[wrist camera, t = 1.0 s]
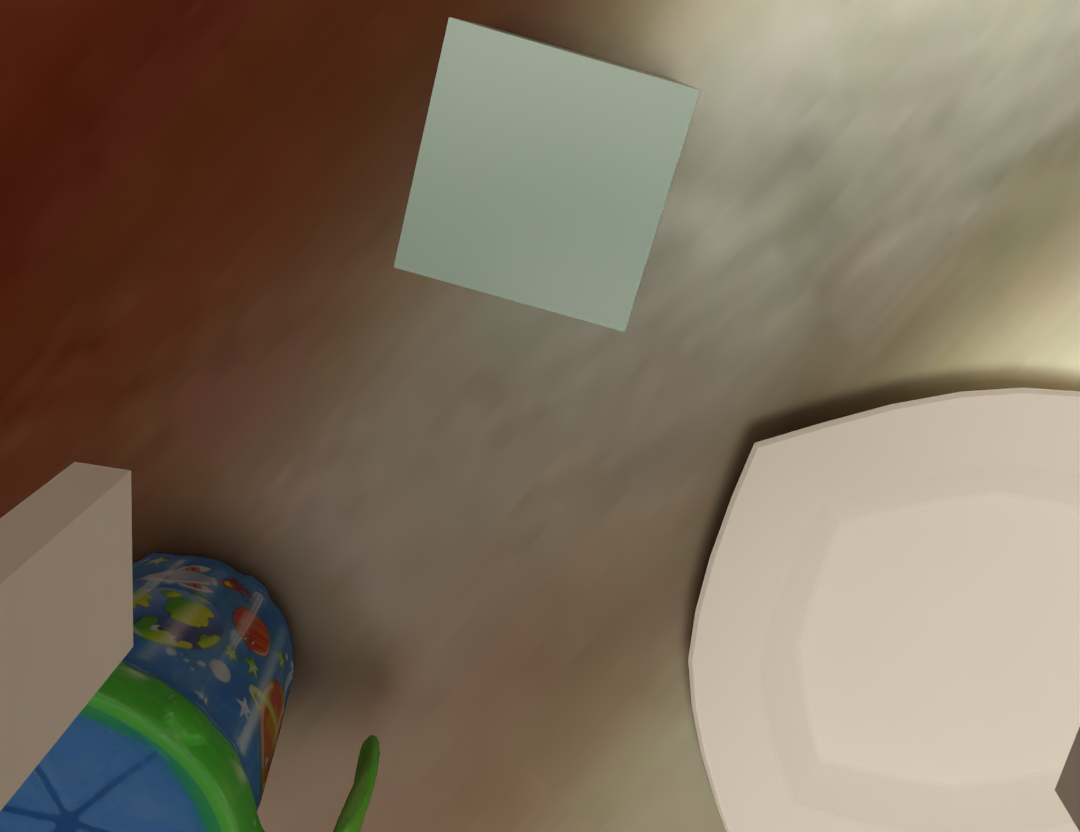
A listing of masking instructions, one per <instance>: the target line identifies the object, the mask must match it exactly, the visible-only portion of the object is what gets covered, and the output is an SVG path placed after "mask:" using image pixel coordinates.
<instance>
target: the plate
mask: <svg viewBox="0 0 1080 832" xmlns="http://www.w3.org/2000/svg"><path fill="white" fill-rule="evenodd" d="M688 664H689V677H690V690H691V703H692V710H693V715H694V720H695V725H696V730H697V735H698V740H699V745H700V750H701V755H702V758H703V761H704V765H705V768H706V771H707V775H708V778H709V782H710V785H711V788H712V792H713V795H714V799H715V802H716V805H717V808H718V811H719V813H720V816H721V819H722V822H723V824H724V827H725V830H726V832H1079V830H1078V828H1077V827H1076V825H1075V823H1074V821H1073V820H1072V818H1071V816H1070V815H1069V813H1068V811H1067V810H1066V808H1065V806H1064V805H1063V803H1062V801H1061V800H1060V798H1059V796H1058V795H1057V793H1056V791H1055V788H1056V785H1057V783H1058V780H1059V778H1060V775H1061V773H1062V770H1063V768H1064V765H1065V762H1066V760H1067V757H1068V755H1069V752H1070V750H1071V747H1072V745H1073V742H1074V740H1075V737H1076V734H1077V732H1078V729H1079V727H1080V391H1068V390H1053V389H1038V388H1006V389H991V390H976V391H961V392H954V393H949V394H943V395H938V396H933V397H927V398H922V399H916V400H911V401H905V402H900V403H894V404H889V405H886V406H882V407H878V408H875V409H871V410H867V411H863V412H860V413H856V414H852V415H848V416H845V417H841V418H837V419H834V420H830V421H826V422H822V423H819V424H815V425H812V426H809V427H805V428H802V429H799V430H795V431H792V432H788V433H785V434H782V435H778V436H775V437H772V438H768V439H765V440H761V441H758V442H755V443H754V445H753V447H752V450H751V452H750V454H749V457H748V459H747V461H746V464H745V466H744V469H743V471H742V473H741V476H740V478H739V480H738V483H737V485H736V488H735V490H734V492H733V495H732V497H731V500H730V503H729V505H728V508H727V511H726V514H725V517H724V519H723V522H722V525H721V528H720V531H719V533H718V536H717V539H716V542H715V544H714V547H713V550H712V553H711V556H710V559H709V562H708V566H707V570H706V573H705V577H704V581H703V584H702V588H701V592H700V596H699V599H698V603H697V607H696V611H695V617H694V624H693V631H692V637H691V644H690V650H689V657H688Z"/></svg>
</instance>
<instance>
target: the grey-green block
mask: <svg viewBox="0 0 1080 832" xmlns="http://www.w3.org/2000/svg"><path fill="white" fill-rule="evenodd" d="M699 93H700V90H699V89H696V88H694V87H691V86H689V85H686V84H683V83H681V82H678V81H676V80H672V79H669V78H665V77H662V76H659V75H655V74H652V73H648V72H645V71H641V70H638V69H634V68H631V67H628V66H624V65H621V64H617V63H614V62H610V61H607V60H603V59H600V58H597V57H593V56H590V55H586V54H583V53H579V52H576V51H573V50H569V49H566V48H562V47H559V46H555V45H552V44H548V43H545V42H542V41H538V40H535V39H531V38H528V37H524V36H521V35H517V34H514V33H511V32H507V31H504V30H500V29H497V28H493V27H490V26H486V25H482V24H477V23H473V22H469V21H464V20H460V19H455V18H451V17H449V19H448V24H447V28H446V33H445V37H444V42H443V46H442V51H441V55H440V60H439V64H438V69H437V73H436V78H435V82H434V87H433V91H432V96H431V100H430V105H429V109H428V114H427V118H426V123H425V127H424V132H423V136H422V141H421V145H420V150H419V154H418V159H417V164H416V168H415V173H414V177H413V182H412V186H411V191H410V195H409V200H408V204H407V209H406V213H405V218H404V222H403V227H402V231H401V236H400V240H399V245H398V249H397V254H396V258H395V263H394V268H398V269H401V270H405V271H408V272H412V273H416V274H419V275H423V276H426V277H430V278H433V279H437V280H441V281H444V282H448V283H451V284H455V285H458V286H462V287H465V288H469V289H473V290H476V291H480V292H483V293H487V294H490V295H494V296H498V297H501V298H505V299H508V300H512V301H515V302H519V303H523V304H526V305H530V306H533V307H537V308H540V309H544V310H547V311H551V312H555V313H558V314H562V315H565V316H569V317H572V318H576V319H580V320H583V321H587V322H590V323H594V324H597V325H601V326H605V327H608V328H612V329H615V330H619V331H622V332H625V329H626V326H627V323H628V320H629V317H630V313H631V310H632V307H633V304H634V301H635V297H636V294H637V291H638V288H639V285H640V281H641V278H642V275H643V272H644V269H645V266H646V262H647V259H648V256H649V253H650V250H651V246H652V243H653V240H654V237H655V234H656V230H657V227H658V224H659V221H660V218H661V214H662V211H663V208H664V205H665V202H666V199H667V195H668V192H669V189H670V186H671V183H672V179H673V176H674V173H675V170H676V167H677V163H678V160H679V157H680V154H681V151H682V147H683V144H684V141H685V138H686V135H687V132H688V128H689V125H690V122H691V119H692V116H693V112H694V109H695V106H696V103H697V100H698V96H699Z"/></svg>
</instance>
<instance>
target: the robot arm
mask: <svg viewBox="0 0 1080 832" xmlns="http://www.w3.org/2000/svg"><path fill="white" fill-rule="evenodd" d="M132 647H133V581H132V500H131V470H125V469H118V468H112V467H105V466H99V465H92V464H86V463H79V462H74V463H72V464H71V465H70V466H68V467H67V468H66V469H64V470H63V471H62V472H61V473H59V474H58V475H57V476H55V477H54V478H53V479H51V480H50V481H49V482H47V483H46V484H45V485H43V486H42V487H41V488H40V489H38V490H37V491H36V492H34V493H33V494H32V495H30V496H29V497H28V498H26V499H25V500H24V501H22V502H21V503H20V504H19V505H17V506H16V507H15V508H13V509H12V510H11V511H9V512H8V513H7V514H5V515H4V516H3V517H1V518H0V811H1V810H2V809H3V807H4V806H5V805H6V804H7V802H8V801H9V800H10V799H11V797H12V796H13V795H14V794H15V793H16V791H17V790H18V789H19V788H20V786H21V785H22V784H23V783H24V781H25V780H26V779H27V778H28V776H29V775H30V774H31V773H32V771H33V770H34V769H35V768H36V766H37V765H38V764H39V763H40V762H41V760H42V759H43V758H44V757H45V755H46V754H47V753H48V752H49V750H50V749H51V748H52V747H53V745H54V744H55V743H56V742H57V740H58V739H59V738H60V737H61V735H62V734H63V733H64V732H65V731H66V729H67V728H68V727H69V726H70V724H71V723H72V722H73V721H74V719H75V718H76V717H77V716H78V714H79V713H80V712H81V711H82V709H83V708H84V707H85V706H86V705H87V703H88V702H89V701H90V700H91V698H92V697H93V696H94V695H95V693H96V692H97V691H98V690H99V688H100V687H101V686H102V685H103V683H104V682H105V681H106V680H107V678H108V677H109V676H110V675H111V674H112V672H113V671H114V670H115V669H116V667H117V666H118V665H119V664H120V662H121V661H122V660H123V659H124V657H125V656H126V655H127V654H128V652H129V651H130V650H131V649H132ZM1055 791H1056V793H1057V795H1058V796H1059V798H1060V800H1061V801H1062V803H1063V805H1064V806H1065V808H1066V810H1067V811H1068V813H1069V815H1070V816H1071V818H1072V820H1073V821H1074V823H1075V825H1076V827H1077V828H1078V830H1079V832H1080V727H1079V729H1078V732H1077V734H1076V737H1075V740H1074V742H1073V745H1072V747H1071V750H1070V752H1069V755H1068V757H1067V760H1066V762H1065V765H1064V768H1063V770H1062V773H1061V775H1060V778H1059V780H1058V783H1057V785H1056V788H1055Z"/></svg>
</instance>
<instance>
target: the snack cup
mask: <svg viewBox="0 0 1080 832" xmlns="http://www.w3.org/2000/svg"><path fill="white" fill-rule="evenodd" d="M132 581H133V647H132V649H131V650H130V651H129V652H128V654H127V655H126V656H125V657H124V659H123V660H122V661H121V662H120V664H119V665H118V666H117V667H116V669H115V670H114V671H113V672H112V674H111V675H110V676H109V677H108V678H107V680H106V681H105V682H104V683H103V685H102V686H101V687H100V688H99V690H98V691H97V692H96V693H95V695H94V696H93V697H92V698H91V700H90V701H89V702H88V703H87V705H86V706H85V707H84V708H83V709H82V711H81V712H80V713H79V714H78V716H77V717H76V718H75V719H74V721H73V722H72V723H71V724H70V726H69V727H68V728H67V729H66V731H65V732H64V733H63V734H62V735H61V737H60V738H59V739H58V740H57V742H56V743H55V744H54V745H53V747H52V748H51V749H50V750H49V752H48V753H47V754H46V755H45V757H44V758H43V759H42V760H41V762H40V763H39V764H38V765H37V766H36V768H35V769H34V770H33V771H32V773H31V774H30V775H29V776H28V778H27V779H26V780H25V781H24V783H23V784H22V785H21V786H20V788H19V789H18V790H17V791H16V793H15V794H14V795H13V796H12V797H11V799H10V800H9V801H8V802H7V804H6V805H5V806H4V807H3V809H2V810H1V811H0V832H265V831H264V830H263V828H262V826H261V824H260V821H259V818H258V815H257V809H258V807H259V804H260V802H261V798H262V794H263V791H264V787H265V783H266V780H267V776H268V772H269V769H270V765H271V761H272V758H273V754H274V751H275V747H276V743H277V740H278V736H279V732H280V729H281V724H282V720H283V714H284V710H285V706H286V703H287V698H288V695H289V691H290V686H291V682H292V679H293V673H294V667H295V661H294V659H293V647H292V642H291V637H290V633H289V629H288V626H287V623H286V621H285V618H284V617H283V615H282V613H281V611H280V610H279V609H278V607H277V606H276V605H275V604H274V603H273V602H272V600H271V599H270V597H269V594H268V591H267V589H266V587H265V586H264V585H263V584H261V583H260V582H259V581H258V580H256V579H255V578H254V577H252V576H251V575H243V574H241V573H239V572H237V571H235V570H234V569H233V568H231V567H230V566H229V565H227V564H226V563H223V562H221V561H218V560H216V559H210V558H203V557H198V556H191V555H184V556H179V555H173V554H162V553H152V554H150V555H148V556H146V557H144V558H143V559H141V560H139V561H137V562H134V563H132ZM379 754H380V752H379V741H378V739H377V737H376V736H373V735H371V736H369V737H368V738H367V739H366V740H365V741H364V742H363V745H362V747H361V750H360V754H359V759H358V764H357V768H356V773H355V779H354V784H353V787H352V789H351V791H350V793H349V796H348V798H347V800H346V802H345V805H344V807H343V809H342V812H341V814H340V816H339V818H338V821H337V824H336V826H335V829H334V831H333V832H360V829H361V826H362V823H363V820H364V816H365V813H366V810H367V808H368V805H369V801H370V798H371V795H372V791H373V788H374V784H375V780H376V775H377V770H378V762H379Z"/></svg>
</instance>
